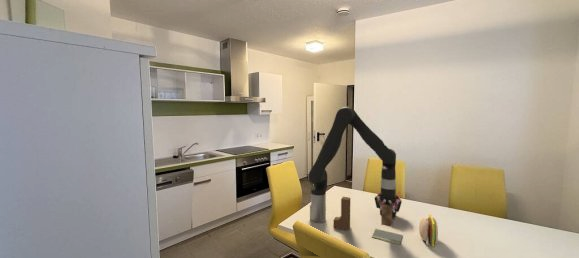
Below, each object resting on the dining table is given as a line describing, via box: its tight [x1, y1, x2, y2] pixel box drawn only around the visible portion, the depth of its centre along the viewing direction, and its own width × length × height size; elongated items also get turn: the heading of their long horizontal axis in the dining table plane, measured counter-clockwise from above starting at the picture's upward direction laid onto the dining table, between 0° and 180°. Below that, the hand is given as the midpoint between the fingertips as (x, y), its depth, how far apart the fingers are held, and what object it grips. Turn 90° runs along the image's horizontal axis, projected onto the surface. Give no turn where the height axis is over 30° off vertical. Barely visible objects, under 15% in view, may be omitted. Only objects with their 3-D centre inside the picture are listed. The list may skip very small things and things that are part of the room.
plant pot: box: [376, 192, 401, 218], centre depth 157 cm, size 14×14×13 cm
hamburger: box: [418, 213, 439, 247], centre depth 127 cm, size 12×8×12 cm
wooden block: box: [333, 196, 351, 231], centre depth 142 cm, size 9×4×18 cm, turn 64°
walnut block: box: [380, 204, 394, 228], centre depth 130 cm, size 5×7×11 cm
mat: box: [371, 228, 403, 245], centre depth 131 cm, size 14×10×1 cm
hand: (387, 216), depth 130 cm, fingers closed on walnut block, 5 cm apart
